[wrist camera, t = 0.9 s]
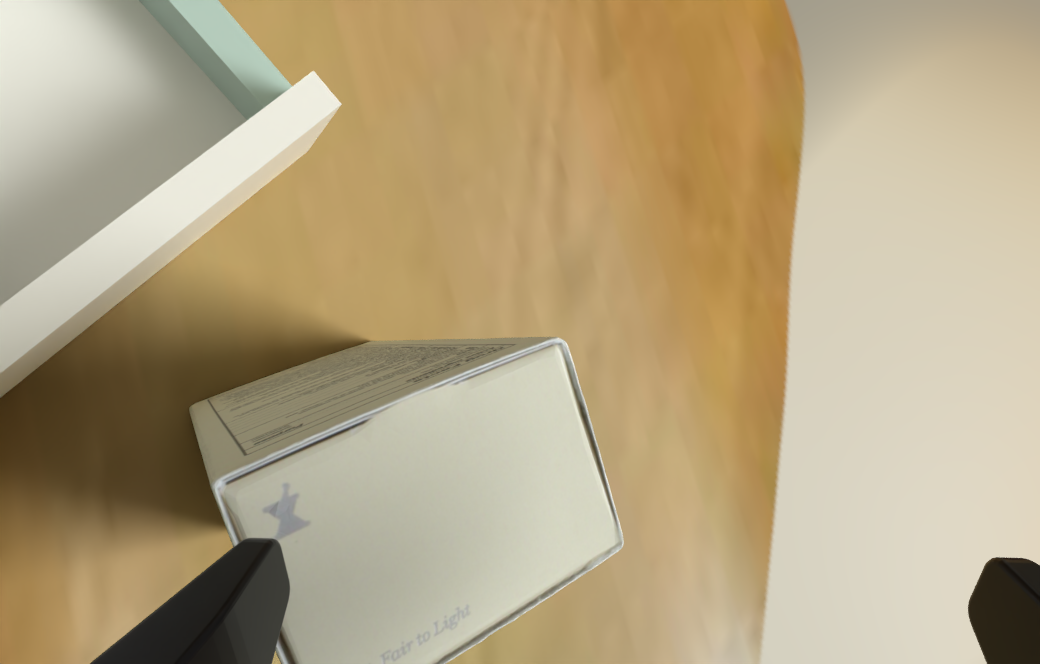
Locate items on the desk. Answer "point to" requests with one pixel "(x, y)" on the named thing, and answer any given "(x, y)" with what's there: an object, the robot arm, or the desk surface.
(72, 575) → the desk surface
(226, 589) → the robot arm
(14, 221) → the box
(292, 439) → the skincare box
